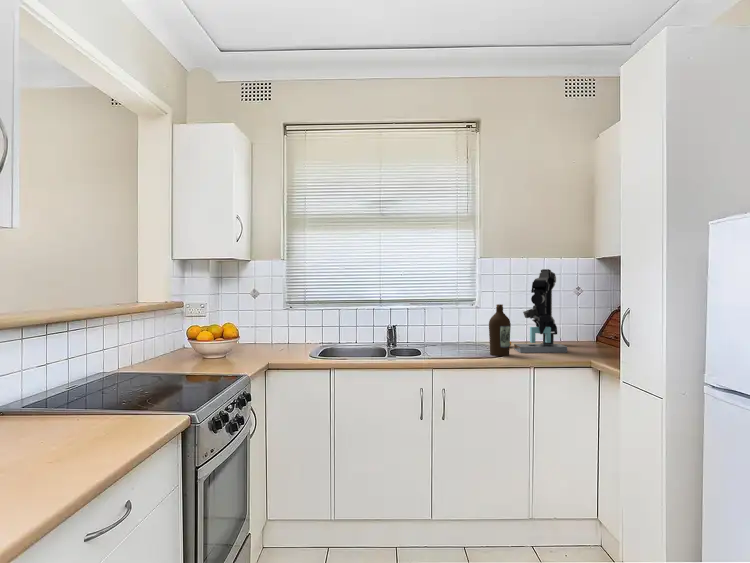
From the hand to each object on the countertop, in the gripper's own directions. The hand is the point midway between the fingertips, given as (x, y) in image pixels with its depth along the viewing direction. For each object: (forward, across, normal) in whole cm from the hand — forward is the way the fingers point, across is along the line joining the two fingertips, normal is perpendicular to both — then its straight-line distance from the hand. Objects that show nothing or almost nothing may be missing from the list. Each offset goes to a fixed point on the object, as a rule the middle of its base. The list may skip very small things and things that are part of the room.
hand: (540, 333), depth 294 cm
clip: (+4, 0, 0) cm, 4 cm away
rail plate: (+9, 0, 0) cm, 9 cm away
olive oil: (+9, +12, -24) cm, 28 cm away
